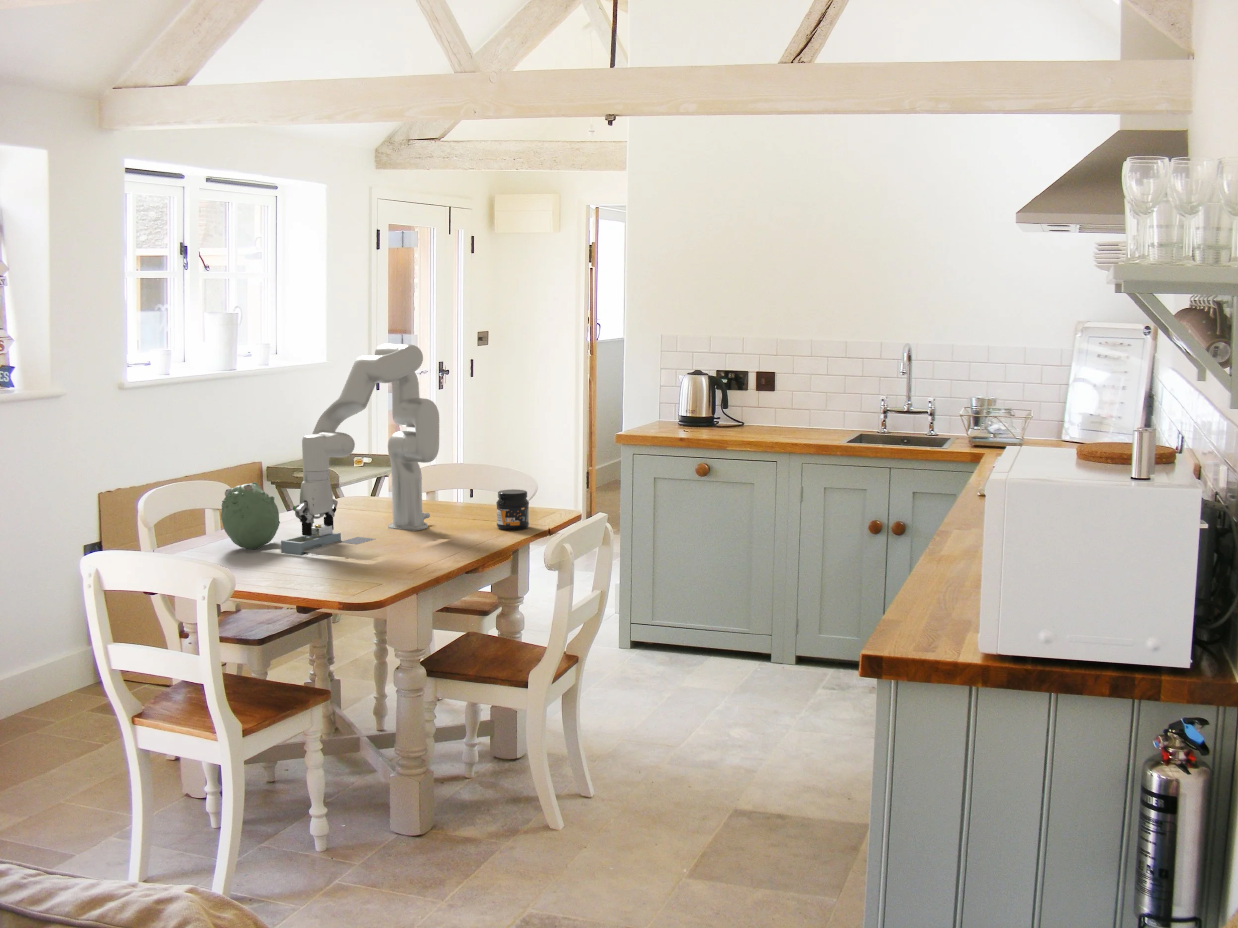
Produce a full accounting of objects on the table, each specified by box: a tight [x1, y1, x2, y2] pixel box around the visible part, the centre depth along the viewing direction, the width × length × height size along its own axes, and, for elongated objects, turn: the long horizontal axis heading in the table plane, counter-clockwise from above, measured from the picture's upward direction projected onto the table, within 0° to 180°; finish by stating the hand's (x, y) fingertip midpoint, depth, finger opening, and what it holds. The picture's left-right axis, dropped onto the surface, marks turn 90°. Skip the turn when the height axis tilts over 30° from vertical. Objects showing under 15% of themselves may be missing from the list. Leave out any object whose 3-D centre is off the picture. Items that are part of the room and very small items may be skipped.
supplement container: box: [496, 488, 530, 531], centre depth 388 cm, size 10×10×12 cm
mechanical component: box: [292, 504, 325, 527], centre depth 372 cm, size 3×10×10 cm, turn 78°
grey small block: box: [309, 523, 334, 538], centre depth 359 cm, size 6×4×3 cm, turn 153°
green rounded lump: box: [220, 481, 281, 550], centre depth 354 cm, size 16×19×20 cm
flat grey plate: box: [339, 536, 375, 545], centre depth 362 cm, size 9×7×1 cm
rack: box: [280, 532, 342, 556], centre depth 356 cm, size 18×8×4 cm, turn 153°
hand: (318, 532), depth 358 cm, fingers open, 9 cm apart
